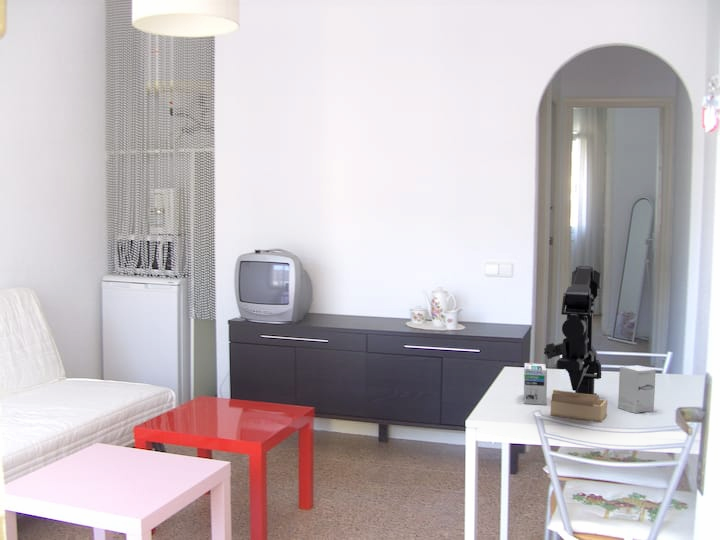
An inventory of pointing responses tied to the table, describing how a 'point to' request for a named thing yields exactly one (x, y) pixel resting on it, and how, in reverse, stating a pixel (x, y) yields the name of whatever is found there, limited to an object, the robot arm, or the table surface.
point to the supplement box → (636, 388)
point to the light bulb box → (535, 383)
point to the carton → (580, 411)
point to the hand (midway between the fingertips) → (574, 390)
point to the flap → (575, 398)
